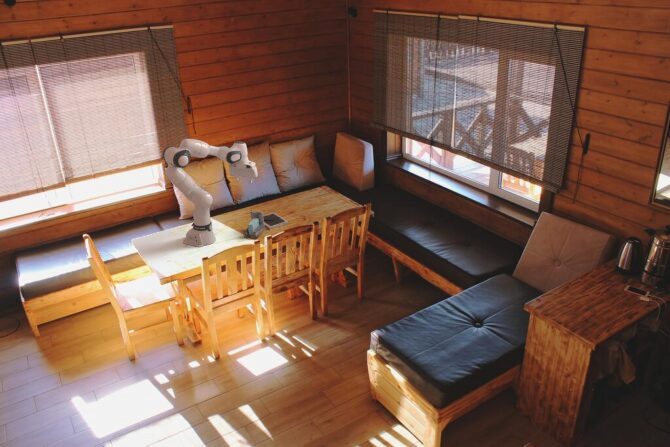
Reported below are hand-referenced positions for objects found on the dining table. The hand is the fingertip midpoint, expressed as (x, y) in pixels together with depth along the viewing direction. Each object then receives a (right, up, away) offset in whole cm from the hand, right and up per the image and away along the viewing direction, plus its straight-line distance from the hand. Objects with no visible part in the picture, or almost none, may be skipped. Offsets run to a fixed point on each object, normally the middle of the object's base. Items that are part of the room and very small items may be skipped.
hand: (244, 182), depth 406 cm
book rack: (+7, -36, +1) cm, 37 cm away
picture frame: (+18, -28, +18) cm, 38 cm away
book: (+7, -35, +1) cm, 35 cm away
